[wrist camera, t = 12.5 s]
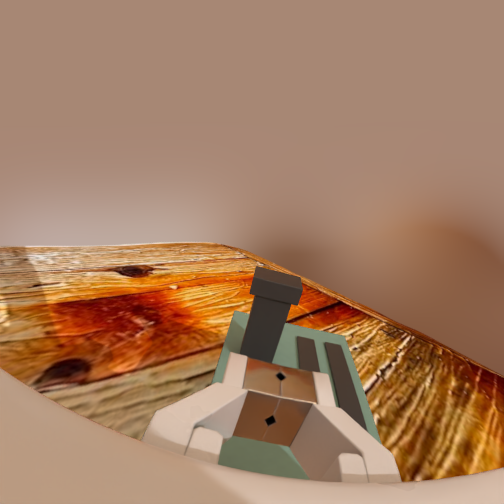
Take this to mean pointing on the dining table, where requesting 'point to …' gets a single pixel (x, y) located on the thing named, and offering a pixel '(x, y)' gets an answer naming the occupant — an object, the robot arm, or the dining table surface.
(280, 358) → the toaster
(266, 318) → the slide switch
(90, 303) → the dining table surface
